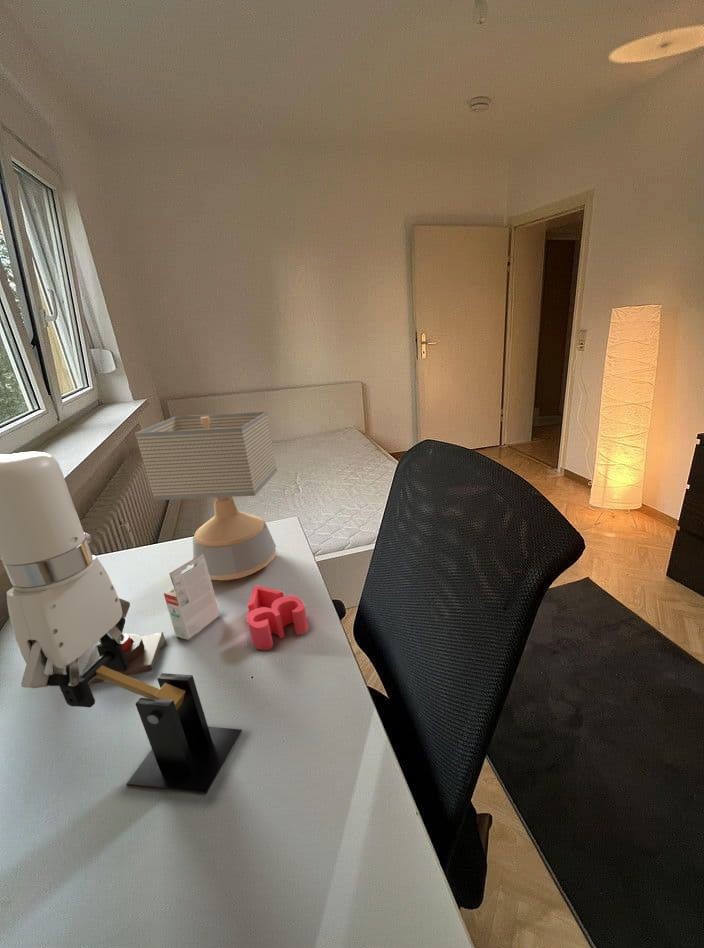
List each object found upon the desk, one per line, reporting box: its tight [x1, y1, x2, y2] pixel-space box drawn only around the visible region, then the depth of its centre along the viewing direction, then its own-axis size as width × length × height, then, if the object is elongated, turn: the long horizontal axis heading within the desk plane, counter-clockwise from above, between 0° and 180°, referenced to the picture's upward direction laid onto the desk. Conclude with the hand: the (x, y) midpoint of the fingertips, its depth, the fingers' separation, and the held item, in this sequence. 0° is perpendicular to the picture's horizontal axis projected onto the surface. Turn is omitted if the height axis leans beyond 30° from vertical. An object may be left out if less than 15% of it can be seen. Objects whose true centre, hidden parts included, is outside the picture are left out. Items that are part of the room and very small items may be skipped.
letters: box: [246, 584, 309, 651], centre depth 86 cm, size 14×10×5 cm
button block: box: [81, 631, 166, 686], centre depth 77 cm, size 11×9×4 cm
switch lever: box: [80, 651, 185, 710], centre depth 55 cm, size 12×5×2 cm, turn 82°
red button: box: [121, 632, 132, 651], centre depth 76 cm, size 4×4×2 cm
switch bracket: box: [126, 672, 243, 795], centre depth 57 cm, size 11×9×13 cm
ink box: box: [163, 554, 221, 641], centre depth 84 cm, size 4×8×15 cm, turn 156°
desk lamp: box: [134, 411, 278, 581], centre depth 101 cm, size 22×19×37 cm
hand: (100, 685), depth 56 cm, fingers closed on switch lever, 5 cm apart
